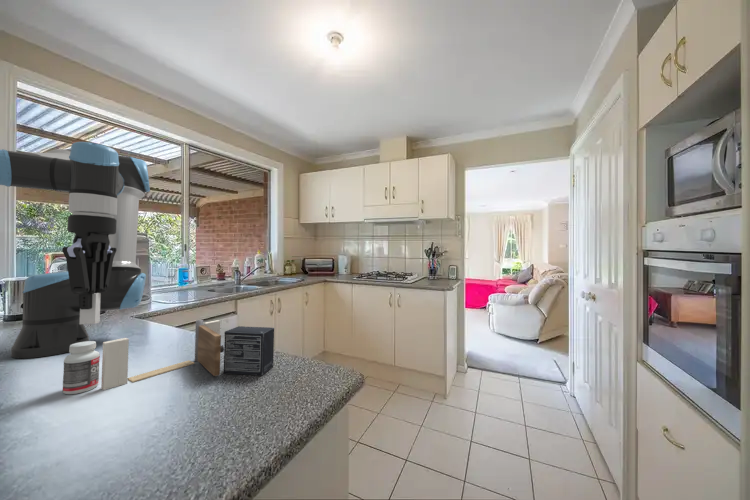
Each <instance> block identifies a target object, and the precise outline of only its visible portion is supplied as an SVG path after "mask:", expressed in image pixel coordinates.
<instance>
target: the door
mask: <svg viewBox="0 0 750 500" xmlns="http://www.w3.org/2000/svg"><path fill="white" fill-rule="evenodd" d="M221 339H222V335H221V334H220V335H219V334H218V333H216V332H214V331H213V330H211V329H210V328H208V327H206V326H205V325H200V326H199V336H198V363H199V364H201V366H202V367H204V368H205V369H206V370H207V371H208V372H209V373H210V374H211V375H212V377H218V376H220V375H221V353H224V344H223V345H222V340H221Z"/></svg>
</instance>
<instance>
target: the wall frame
mask: <svg viewBox="0 0 750 500" xmlns="http://www.w3.org/2000/svg"><path fill="white" fill-rule="evenodd" d="M200 325H205V326H206V327H208V328H210V329H211V330H213V331H214V332H216V333H218V334H219V335H221V320H219V319H217V320H212V321H207V322H204V319H197V320H195V336H194V340H195V341H194V345H195V346H194V361H192V360H189V359H188V360H185V361H182V362H178V363H175V364H171V365H168V366H164V367H160V368H157V369H155V370H154V369H153V370H151V371H147V372H145V373H140V374H137V375H134V376H131V377H128V372H129V371H128V370H129V345H130V344H129V343H130V342H129V341H130V339H129V338H128V337H124V338H123V337H121V338H117V339H113V340H107V341H103V342H102V356H101V357H102V360H101V385H100V389H101V390H103V391H105V390H110V389H113V388H115V387H120V386H123V385H126V384H128V381H129V382H131V383H136V382H140V381H144V380H147V379H150V378H153V377H156V376H159V375H162V374H166V373H169V372H172V371H175V370H179V369H181V368H185V367H189V366H191V365H195V362H198V336H199V326H200ZM198 363H199V362H198Z"/></svg>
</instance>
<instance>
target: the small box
mask: <svg viewBox="0 0 750 500" xmlns="http://www.w3.org/2000/svg"><path fill="white" fill-rule="evenodd" d="M274 345H275V327H265V326H263V327H262V326H245V325H244V326H240V325H238V326H235V327H233V328H231V329H227V330H225V331H224V344H223V347H224V352H223V354H224V355H223V374H226V375H227V374H229V375H246V376H264V375H265V374H266V373H267V372H268V371H270V369H272V368H274V354H275V353H274V351H275V349H274V347H275V346H274Z"/></svg>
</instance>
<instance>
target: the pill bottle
mask: <svg viewBox="0 0 750 500" xmlns="http://www.w3.org/2000/svg"><path fill="white" fill-rule="evenodd" d="M96 347H97V341H94V340H89V341H85V342H79V343H75V344H72V345H70V347H69V352H68V353H69V355H67V356H66V357H65V358H64V359H63V372H62V373H63V376H62V377H63V378H62V393H63V394H65V395H76V394H82V393H85V392H89V391H91V390H93V389H95V388H96V387H97V386H99V380H100V378H99V377H100V360H101V359H100V356H101V355H100V352H99V351H97V350H95V349H96Z"/></svg>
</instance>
